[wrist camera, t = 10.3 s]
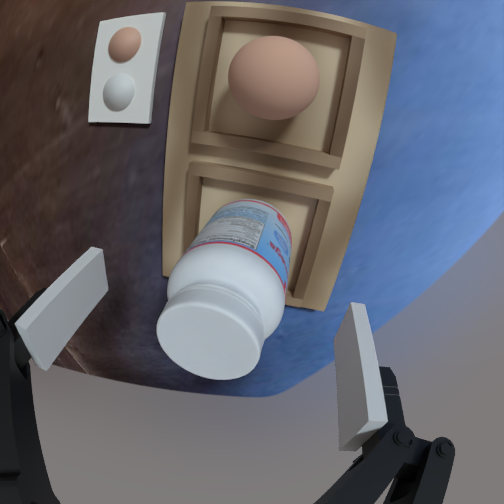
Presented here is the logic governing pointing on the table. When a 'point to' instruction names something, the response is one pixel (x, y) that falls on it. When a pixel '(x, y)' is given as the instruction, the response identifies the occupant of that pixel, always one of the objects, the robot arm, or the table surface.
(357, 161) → the tray
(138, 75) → the card
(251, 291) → the pill bottle
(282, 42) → the egg
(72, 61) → the table surface
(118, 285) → the table surface
